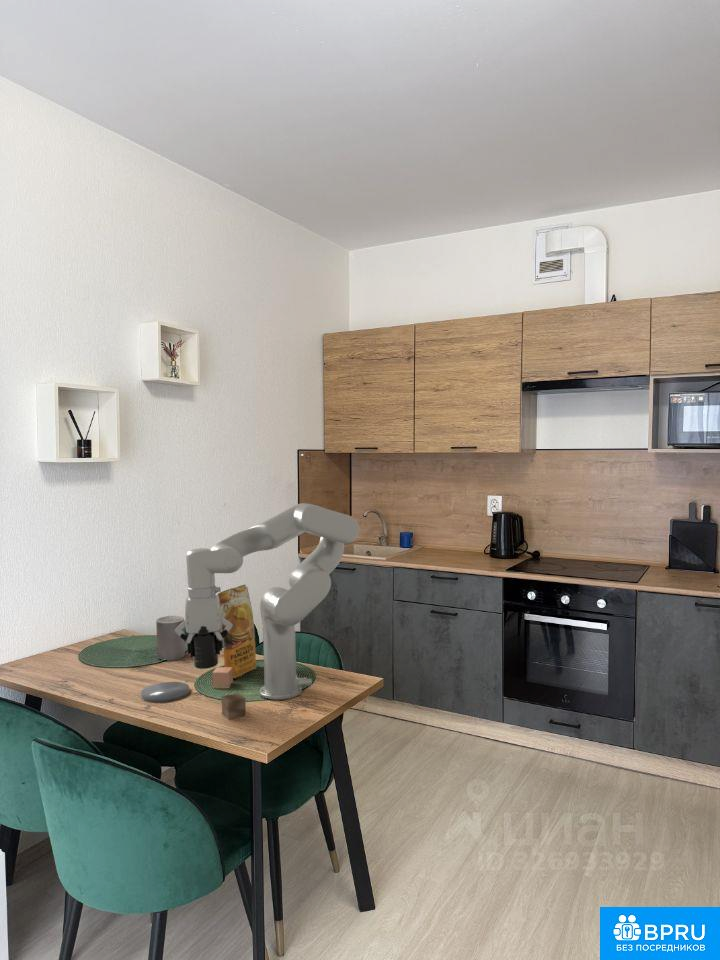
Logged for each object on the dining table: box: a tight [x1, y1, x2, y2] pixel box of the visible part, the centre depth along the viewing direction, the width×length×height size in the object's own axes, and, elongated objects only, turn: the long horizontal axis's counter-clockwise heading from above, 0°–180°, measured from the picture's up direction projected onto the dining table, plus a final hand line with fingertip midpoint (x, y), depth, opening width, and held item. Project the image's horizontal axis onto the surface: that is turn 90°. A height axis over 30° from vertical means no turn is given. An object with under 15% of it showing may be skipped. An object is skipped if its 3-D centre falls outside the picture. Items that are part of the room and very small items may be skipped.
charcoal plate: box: [140, 681, 190, 703], centre depth 205 cm, size 14×14×1 cm
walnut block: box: [221, 692, 247, 721], centre depth 188 cm, size 5×5×5 cm
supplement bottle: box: [192, 626, 219, 670], centre depth 194 cm, size 7×7×12 cm
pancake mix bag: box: [217, 584, 257, 679], centre depth 223 cm, size 7×19×28 cm, turn 151°
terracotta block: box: [211, 666, 234, 688], centre depth 212 cm, size 5×5×5 cm
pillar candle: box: [155, 615, 186, 662], centre depth 242 cm, size 10×10×15 cm
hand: (205, 654), depth 194 cm, fingers closed on supplement bottle, 6 cm apart
